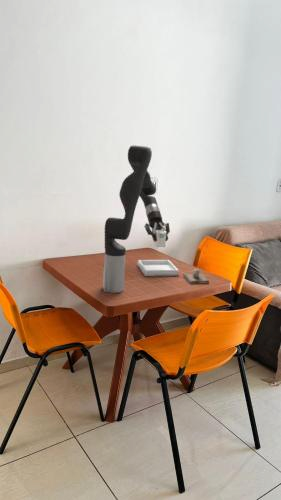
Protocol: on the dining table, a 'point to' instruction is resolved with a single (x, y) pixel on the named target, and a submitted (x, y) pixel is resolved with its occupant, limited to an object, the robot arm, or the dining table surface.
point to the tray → (157, 268)
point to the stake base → (197, 280)
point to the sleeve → (160, 238)
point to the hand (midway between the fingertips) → (161, 240)
